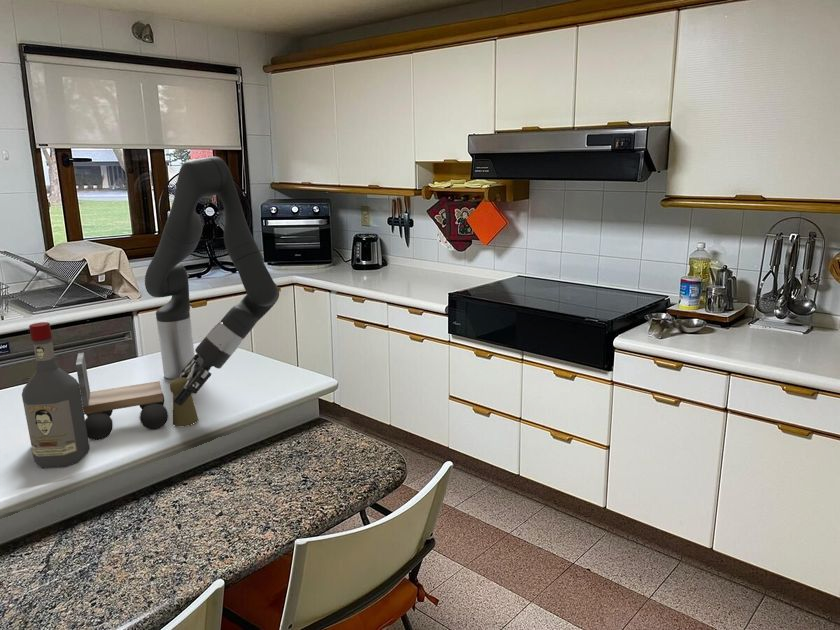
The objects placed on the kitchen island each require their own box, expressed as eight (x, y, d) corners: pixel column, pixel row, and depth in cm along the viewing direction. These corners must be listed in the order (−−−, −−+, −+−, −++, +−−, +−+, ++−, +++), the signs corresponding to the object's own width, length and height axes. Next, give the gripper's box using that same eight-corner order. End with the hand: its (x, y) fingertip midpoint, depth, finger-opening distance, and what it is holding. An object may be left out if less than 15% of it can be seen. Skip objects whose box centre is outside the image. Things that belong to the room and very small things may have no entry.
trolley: (87, 421, 159) (76, 351, 154) (165, 407, 166) (156, 340, 161) (85, 442, 146) (72, 367, 142) (169, 427, 153) (159, 355, 149)
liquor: (52, 450, 143) (28, 320, 135) (94, 448, 143) (72, 318, 136) (30, 470, 134) (3, 331, 127) (75, 467, 134) (51, 329, 127)
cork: (202, 416, 159) (197, 374, 156) (192, 426, 153) (187, 383, 151) (179, 416, 160) (174, 374, 157) (167, 426, 154) (162, 383, 151)
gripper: (203, 329, 160) (160, 380, 158) (211, 342, 147) (164, 398, 146) (227, 346, 163) (185, 396, 162) (236, 361, 151) (191, 416, 149)
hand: (175, 397), depth 154 cm, fingers open, 8 cm apart
